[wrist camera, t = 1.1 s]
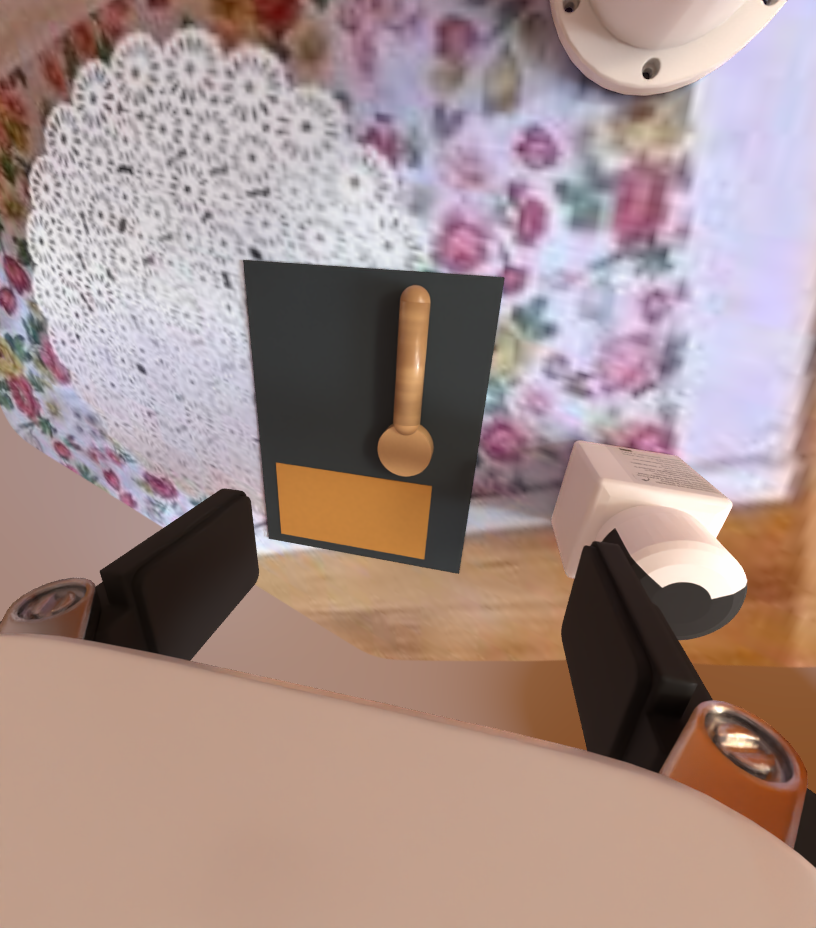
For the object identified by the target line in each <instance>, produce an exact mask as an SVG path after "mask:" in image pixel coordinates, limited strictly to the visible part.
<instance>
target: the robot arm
mask: <svg viewBox="0 0 816 928" xmlns="http://www.w3.org/2000/svg"><path fill="white" fill-rule="evenodd" d="M765 1H766V5H765V4H764V3H763V1H762V0H550V6H551V13H552V18H553V21H554V24H555V27H556V30H557V33H558V36H559V40H560V42H561V44H562V45H563V47H564V49H565V51H566V52H567V54H568V56H569V58H570V59H571V61H572V62H573V63H574V64H575V65H576V67H577V68H578V69H579V70H580V71H581V72H582V73H583V74H584V75H585V76H586V77H587V78H589V79H590V80H592V81H593V82H595V83H596V84H598V85H600V86H601V87H603V88H605V89H608V90H611V91H614V92H618V93H621V94H624V95H641V96H648V95H653V94H659V93H665V92H670V91H673V90H676V89H678V88H681V87H683V86H686V85H689V84H691V83H694V82H696V81H697V80H699V79H701V78H703V77H704V76H706V75H708V74H709V73H711V72H713V71H714V70H716V69H718V68H719V67H721V66H722V65H723V64H724V63H726V62H727V61H728V60H729V59H731V58H732V57H733V56H734V55H736V54H737V53H738V52H739V51H740V50H742V49H743V48H744V47H745V46H746V45H747V44H748V43H749V42H750V41H751V40H752V39H753V38H754V37H755V36H756V35H757V34H758V33H759V32H760V31H761V30H762V29H763V28H764V27H765V26H766V25H767V24H768V23H769V22H770V20H771V19H772V18H773V17H774V16H775V15H776V14H777V12H778V11H779V10H780V9H781V8H782V7H783V5H784V4H785V3H786V1H787V0H765ZM568 7H571V8H572V9H573V12H571V13H568V12H565V9H566V8H568ZM644 72H648V73H649V75H650V78H649V80H648V79H645V78H644V77H643V75H642V73H644ZM100 574H101V577H102V580H103V582H102V583H100V584H99V585H97V586H96V587H95V584H94V583H93V582H92V581H91V580H88V579H85V578H68V579H62V580H58V581H54V582H51V583H47V584H45V585H42V586H40V587H38V588H35V589H33V590H31V591H30V592H28V593H26V594H24V595H23V596H21V597H20V598H19V599H17V600H16V601H15V602H14V603H13V604H12V605H11V606H10V607H9V609H8V610H7V612H6V614H5V616H4V617H3V619H2V621H1V622H0V928H816V794H815V793H813V792H812V791H811V790H809V789H808V788H807V785H808V779H807V770H806V768H805V766H804V764H803V762H802V760H801V758H800V756H799V755H798V754H797V752H796V751H795V750H794V748H793V747H792V746H791V745H790V743H789V742H788V741H787V740H785V738H784V737H783V736H781V734H779V733H778V732H777V731H776V730H775V729H774V728H773V727H772V726H770V725H769V724H767V723H766V722H764V721H763V720H761V719H760V718H759V717H758V716H756V715H754V714H752V713H750V712H748V711H746V710H744V709H743V708H741V707H738V706H735V705H732V704H729V703H726V702H721V701H713V700H712V698H711V696H710V694H709V693H708V691H707V689H706V688H705V686H704V684H703V682H702V681H701V679H700V677H699V675H698V674H697V672H696V670H695V669H694V667H693V665H692V663H691V662H690V660H689V658H688V656H687V655H686V653H685V651H684V650H683V648H682V646H681V644H680V643H679V641H678V639H677V638H676V636H675V634H674V632H673V631H672V629H671V627H670V625H669V624H668V622H667V620H666V619H665V617H664V615H663V613H662V612H661V610H660V609H659V607H658V606H657V605H656V604H655V603H653V602H651V600H650V598H649V597H648V595H647V593H646V591H645V589H644V588H643V586H642V584H641V582H640V581H639V579H638V577H637V575H636V574H635V572H634V570H633V568H632V567H631V565H630V563H629V561H628V559H627V558H626V556H625V554H624V552H623V551H622V549H621V547H620V546H619V545H618V544H613V543H606V542H598V541H593V542H592V544H591V546H587V545H585V546H584V547H583V549H582V553H581V556H580V560H579V564H578V568H577V571H576V575H575V579H574V583H573V586H572V590H571V594H570V597H569V601H568V605H567V609H566V612H565V616H564V620H563V624H562V630H561V635H562V642H563V647H564V651H565V655H566V660H567V664H568V668H569V673H570V677H571V681H572V686H573V690H574V695H575V699H576V703H577V707H578V712H579V716H580V721H581V724H582V730H583V734H584V738H585V742H586V747H587V751H585V750H581V749H577V748H573V747H569V746H565V745H561V744H557V743H552V742H549V741H545V740H541V739H536V738H532V737H528V736H524V735H520V734H516V733H512V732H508V731H504V730H499V729H495V728H491V727H486V726H482V725H478V724H473V723H469V722H464V721H460V720H455V719H451V718H447V717H442V716H438V715H434V714H429V713H424V712H420V711H416V710H412V709H407V708H403V707H398V706H394V705H390V704H385V703H381V702H376V701H372V700H367V699H363V698H358V697H353V696H349V695H344V694H340V693H335V692H331V691H327V690H322V689H318V688H313V687H308V686H304V685H299V684H295V683H290V682H285V681H281V680H277V679H272V678H268V677H263V676H258V675H254V674H249V673H245V672H240V671H235V670H230V669H226V668H221V667H217V666H212V665H207V664H203V663H198V662H193V661H190V660H191V659H192V658H193V657H194V655H195V654H196V653H197V652H198V651H199V650H200V648H201V647H202V646H203V645H204V644H205V642H206V641H207V640H208V639H209V638H210V637H211V635H212V634H213V633H214V632H215V631H216V630H217V628H218V627H219V626H220V625H221V624H222V622H223V621H224V620H225V619H226V618H227V617H228V615H229V614H230V613H231V612H232V611H233V610H234V608H235V607H236V606H237V604H239V602H240V601H241V600H242V599H243V598H244V596H245V595H246V594H247V593H248V592H249V591H250V589H251V588H252V587H253V586H254V585H255V583H256V581H257V579H258V576H259V567H258V559H257V550H256V542H255V533H254V524H253V516H252V507H251V500H250V498H249V497H247V496H246V494H245V493H244V492H243V491H239V490H232V489H221V490H219V491H218V492H216V493H215V494H213V495H212V496H210V497H209V498H207V499H206V500H204V501H203V502H201V503H200V504H198V505H197V506H195V507H194V508H193V509H191V510H190V511H188V512H187V513H185V514H184V515H182V516H181V517H179V518H178V519H176V520H175V521H173V522H172V523H170V524H169V525H167V526H166V527H164V528H163V529H161V530H160V531H159V532H157V533H155V534H154V535H152V536H151V537H149V538H148V539H147V540H145V541H143V542H142V543H140V544H139V545H137V546H136V547H135V548H133V549H132V550H130V551H129V552H127V553H126V554H124V555H123V556H121V557H120V558H118V559H117V560H115V561H114V562H112V563H111V564H109V565H108V566H106V567H105V568H103V569H102V570H100Z"/></svg>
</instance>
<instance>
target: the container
mask: <svg viewBox="0 0 816 928" xmlns="http://www.w3.org/2000/svg"><path fill="white" fill-rule="evenodd" d="M731 508H732V503H731V501H730V500H729V499H728V498H727V497H726V496H724V495H723V494H722V493H721V492H720V491H719V490H717V489H716V488H715V487H714V486H713V485H711V484H710V483H709V482H708V481H707V480H705V479H704V478H703V477H702V476H701V475H699V474H698V473H697V472H696V471H695V470H693V469H692V468H691V467H690V466H689V465H687V464H686V463H685V462H684V461H683V460H681V459H680V458H679V457H677V456H674V455H668V454H662V453H656V452H649V451H643V450H637V449H630V448H624V447H618V446H611V445H605V444H599V443H593V442H586V441H576V442H575V443H574V445H573V449H572V452H571V455H570V459H569V462H568V465H567V469H566V472H565V475H564V479H563V482H562V485H561V488H560V492H559V495H558V498H557V502H556V505H555V508H554V512H553V515H552V518H551V523H552V526H553V530H554V534H555V537H556V541H557V545H558V548H559V552H560V556H561V559H562V563H563V567H564V570H565V573H566V575H567V576H568V577H570V578H574V579H575V575H576V571H577V568H578V564H579V560H580V556H581V553H582V549H583V547H584V546H585V545H587V546H591V544H592V542H593V541H598V542H606V543H613V544H618V545H619V546H620V547H621V549H622V551H623V552H624V554H625V556H626V558H627V559H628V561H629V563H630V565H631V567H632V568H633V570H634V572H635V574H636V575H637V577H638V579H639V581H640V582H641V584H642V586H643V588H644V589H645V591H646V593H647V595H648V597H649V598H650V600H651V602H653V603H655V604H656V605H657V606H658V607H659V609H660V610H661V612H662V613H663V615H664V617H665V619H666V620H667V622H668V624H669V625H670V627H671V629H672V631H673V632H674V634H675V636H676V638H677V639H678V640H687V639H693V638H698V637H701V636H705V635H707V634H710V633H712V632H714V631H716V630H718V629H720V628H721V627H723V626H724V625H726V624H727V623H728V622H730V621H731V620H732V619H733V618H734V617H735V615H736V614H737V613H738V611H739V610H740V608H741V606H742V604H743V602H744V599H745V597H746V593H747V580H746V575H745V573H744V571H743V569H742V567H741V566H740V564H739V563H738V561H737V560H736V559H735V558H734V557H733V556H732V555H731V554H730V553H729V552H728V551H727V550H726V549H725V548H724V547H723V546H722V545H721V543H720V542H719V541H718V540H717V539H716V537H717V535H718V533H719V531H720V529H721V527H722V525H723V523H724V521H725V520H726V518H727V516H728V514H729V512H730V510H731Z"/></svg>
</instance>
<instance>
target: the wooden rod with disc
mask: <svg viewBox="0 0 816 928" xmlns="http://www.w3.org/2000/svg"><path fill="white" fill-rule="evenodd" d="M429 315H430V296H429V293H428V292H427V290H426V289H425V288H423V287H422V286H419V285H412V286H409V287H407V288H406V289H405V290H404V291H403V293H402V294H401V297H400V308H399V326H398V344H397V362H396V380H395V398H394V416H393V424H392V425H390V426H389V427H388V428H387V429H386V430H385V432H384V433H383V434H382V435H381V437H380V439H379V442H378V447H377V449H378V456H379V458H380V461H381V462H382V464H383V465H384V466H385V467H386V469H388V470H389V471H390V472H392V473H394V474H396V475H399V476H414V475H417V474H419V473H421V472H422V471H423V470H424V469H425V468H426V467H427V466H428V464H429V462H430V460H431V457H432V454H433V449H434V446H433V440H432V437H431V435H430V434H429V432H428V431H427V430H426V429H425V428H424V427H423V426H422V425H420V420H421V408H422V396H423V385H424V373H425V361H426V350H427V338H428V326H429Z"/></svg>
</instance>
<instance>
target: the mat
mask: <svg viewBox="0 0 816 928" xmlns="http://www.w3.org/2000/svg"><path fill="white" fill-rule="evenodd" d="M243 262H244V273H245V284H246V295H247V305H248V316H249V327H250V338H251V349H252V359H253V370H254V381H255V392H256V403H257V413H258V424H259V435H260V446H261V457H262V467H263V478H264V489H265V500H266V511H267V521H268V532H269V539H274V540H280V541H285V542H290V543H296V544H301V545H307V546H312V547H317V548H323V549H328V550H334V551H339V552H344V553H350V554H355V555H361V556H366V557H371V558H377V559H382V560H387V561H393V562H398V563H404V564H409V565H414V566H420V567H425V568H431V569H436V570H441V571H447V572H452V573H458V574H459V570H460V563H461V557H462V550H463V544H464V537H465V531H466V524H467V518H468V511H469V505H470V498H471V492H472V485H473V479H474V472H475V466H476V459H477V453H478V446H479V440H480V433H481V427H482V420H483V414H484V407H485V401H486V394H487V388H488V381H489V375H490V368H491V362H492V355H493V349H494V342H495V336H496V329H497V323H498V316H499V310H500V303H501V297H502V290H503V284H504V277H490V276H475V275H460V274H445V273H430V272H415V271H400V270H384V269H369V268H354V267H339V266H324V265H309V264H294V263H279V262H264V261H249V260H243ZM412 285H419V286H422V287H423V288H425V289H426V290H427V292H428V293H429V296H430V315H429V326H428V338H427V350H426V361H425V373H424V385H423V396H422V408H421V420H420V425H422V426H423V427H424V428H425V429H426V430H427V431H428V432H429V434H430V435H431V437H432V440H433V446H434V449H433V454H432V457H431V460H430V462H429V464H428V466H427V467H426V468H425V469H424V470H423V471H422V472H421V473H419V474H417V475H414V476H399V475H396V474H394V473H392V472H390V471H389V470H388V469H386V467H385V466H384V465H383V464H382V462H381V461H380V458H379V456H378V449H377V447H378V442H379V439H380V437H381V435H382V434H383V433H384V432H385V430H386V429H387V428H388V427H389V426H390V425H392V424H393V416H394V398H395V380H396V362H397V344H398V326H399V308H400V297H401V294H402V293H403V291H404V290H405V289H406V288H407V287H409V286H412Z"/></svg>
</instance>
